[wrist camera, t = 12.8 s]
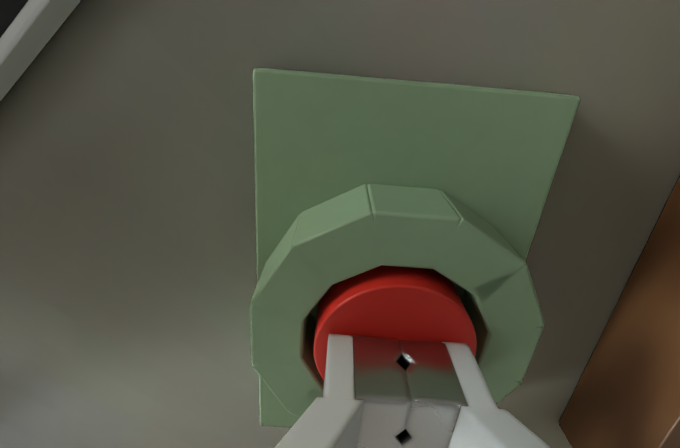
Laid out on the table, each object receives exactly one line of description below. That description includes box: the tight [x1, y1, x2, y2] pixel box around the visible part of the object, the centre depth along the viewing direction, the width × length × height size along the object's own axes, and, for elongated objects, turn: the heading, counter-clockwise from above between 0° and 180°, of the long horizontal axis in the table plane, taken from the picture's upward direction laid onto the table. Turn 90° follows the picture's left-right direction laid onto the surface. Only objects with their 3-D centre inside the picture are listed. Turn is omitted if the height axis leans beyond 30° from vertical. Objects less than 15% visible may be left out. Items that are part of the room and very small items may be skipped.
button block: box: [250, 68, 580, 428], centre depth 9 cm, size 11×7×3 cm, turn 175°
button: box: [314, 265, 477, 380], centre depth 9 cm, size 4×4×2 cm
